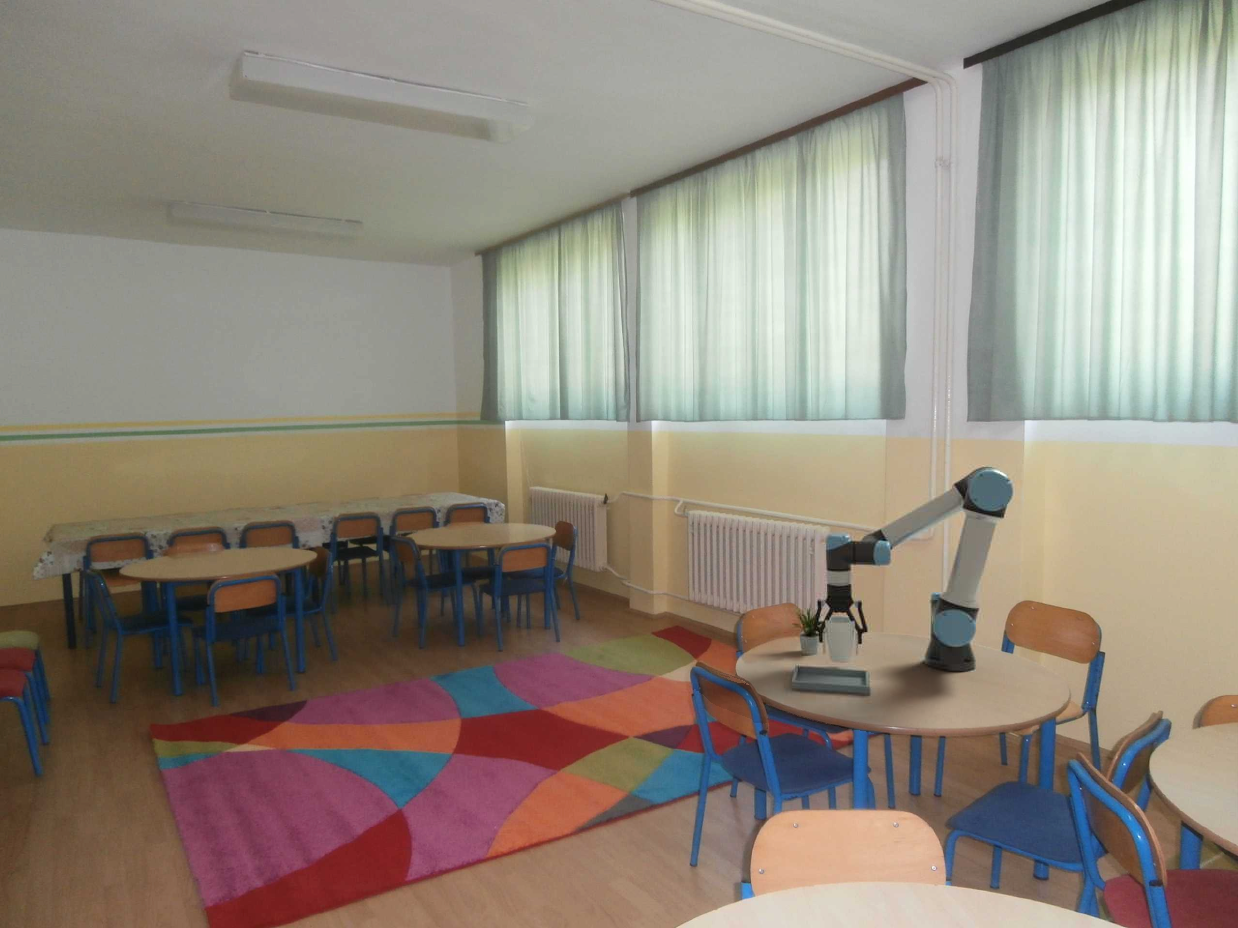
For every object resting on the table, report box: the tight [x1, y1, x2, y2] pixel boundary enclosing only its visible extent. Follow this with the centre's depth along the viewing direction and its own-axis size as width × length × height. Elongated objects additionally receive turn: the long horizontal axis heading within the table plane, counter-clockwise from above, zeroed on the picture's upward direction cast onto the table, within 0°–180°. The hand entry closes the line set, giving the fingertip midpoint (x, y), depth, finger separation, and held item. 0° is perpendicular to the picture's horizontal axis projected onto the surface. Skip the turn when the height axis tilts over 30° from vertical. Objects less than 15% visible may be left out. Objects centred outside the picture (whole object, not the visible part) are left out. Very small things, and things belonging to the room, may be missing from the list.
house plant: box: [784, 604, 827, 656], centre depth 281 cm, size 14×14×16 cm
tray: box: [791, 665, 871, 696], centre depth 249 cm, size 22×16×2 cm
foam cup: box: [824, 615, 856, 664], centre depth 263 cm, size 10×9×13 cm
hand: (840, 653), depth 264 cm, fingers closed on foam cup, 9 cm apart
